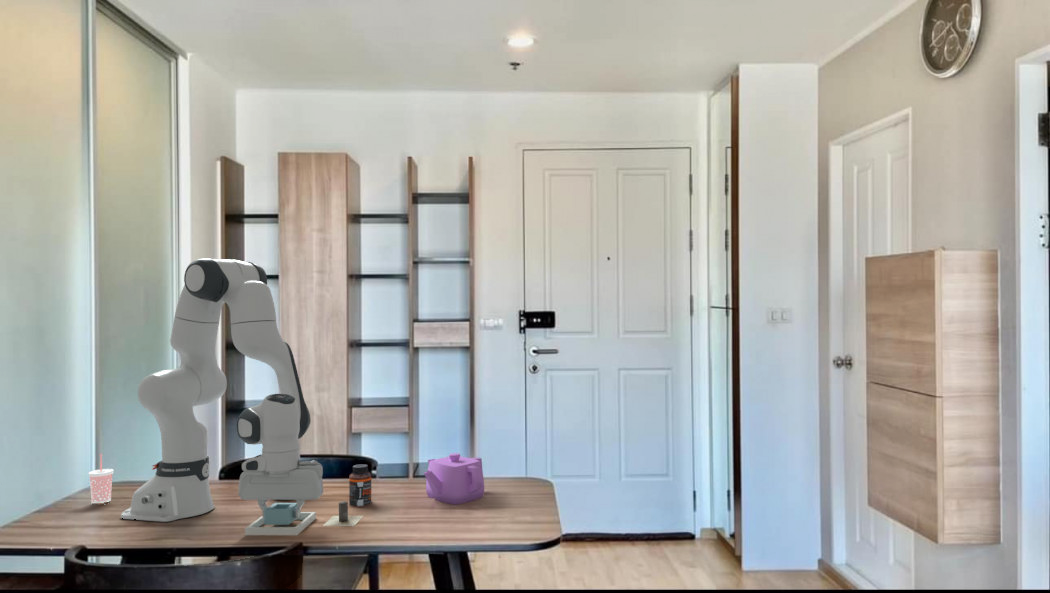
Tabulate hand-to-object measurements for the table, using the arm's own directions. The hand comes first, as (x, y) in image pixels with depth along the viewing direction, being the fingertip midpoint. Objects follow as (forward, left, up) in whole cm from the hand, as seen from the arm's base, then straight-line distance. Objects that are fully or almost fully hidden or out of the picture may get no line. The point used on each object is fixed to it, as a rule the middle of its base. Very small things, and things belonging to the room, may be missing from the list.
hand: (281, 517), depth 167 cm
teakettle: (+38, +29, -4) cm, 48 cm away
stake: (+14, +4, -3) cm, 15 cm away
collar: (0, 0, -1) cm, 1 cm away
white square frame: (0, 0, -3) cm, 3 cm away
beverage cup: (-62, +23, -4) cm, 66 cm away
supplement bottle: (+14, +19, -4) cm, 24 cm away
